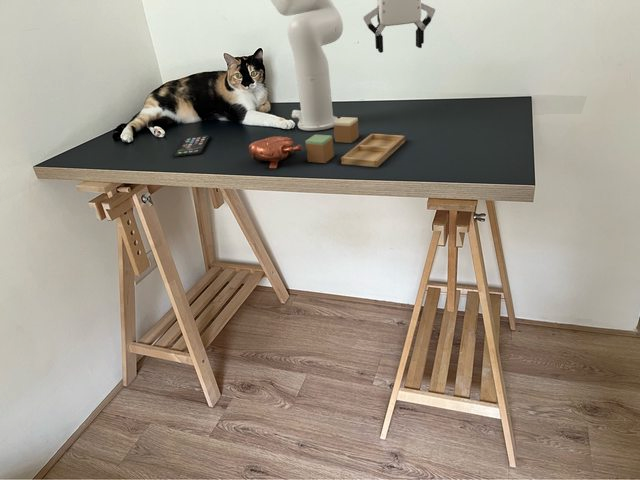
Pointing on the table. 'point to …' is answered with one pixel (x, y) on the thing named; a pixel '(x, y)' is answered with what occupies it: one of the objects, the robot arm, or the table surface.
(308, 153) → the pad sage
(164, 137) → the table surface
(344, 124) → the pad cream
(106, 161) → the table surface
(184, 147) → the smartphone
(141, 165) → the table surface
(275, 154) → the heart
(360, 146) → the wooden divided tray
